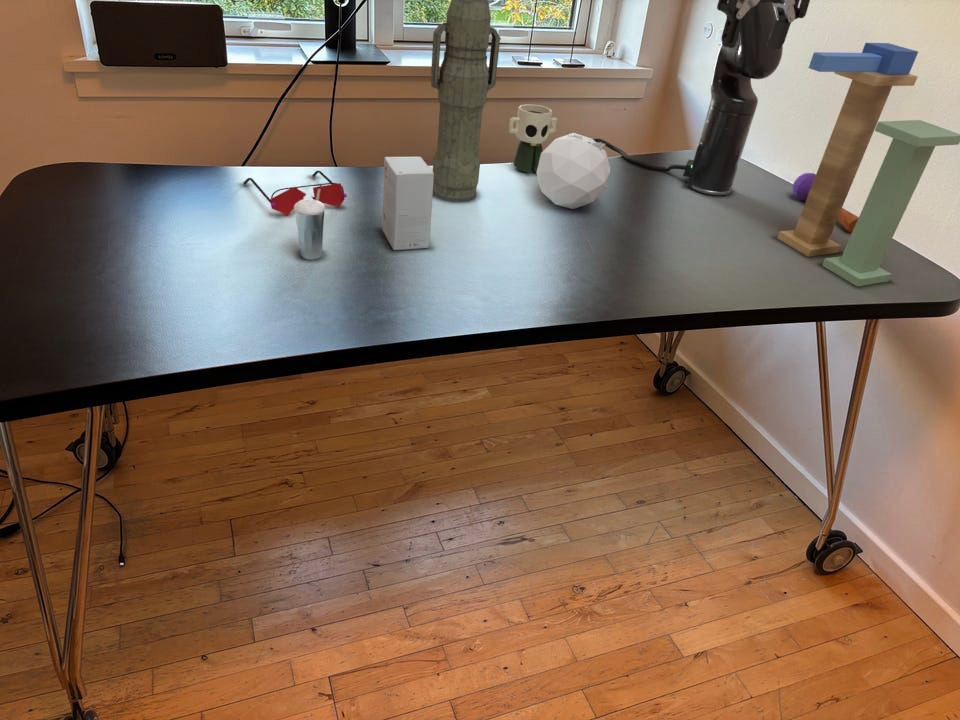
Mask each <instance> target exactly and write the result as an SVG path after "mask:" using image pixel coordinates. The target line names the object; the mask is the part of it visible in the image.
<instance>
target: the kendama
mask: <svg viewBox="0 0 960 720" xmlns="http://www.w3.org/2000/svg"><path fill="white" fill-rule="evenodd" d="M815 176H816V173H814V172H805V173H802V174H801V175H799V176H797V178H796V179H795V180H794V182H793V185H792V192H793V195H794V197H795V198H797V199H798V200H800V201H802V202H806V200H807V197H808V194H809V192H810V189H811V187H812V184H813V181H814V179H815ZM858 218H859V216H857V215H855V214H854V213H853V212H850V211H849V210H847V209H845V208H844V207H842V209H841V211H840V214H839V216H838V219H837V221H838V222H839V223H840V224H841V225H842V227H844V228H845V230H846V231H847V232H848V233H850V234H852V232H853V230H854V227H855V225H856V223H857V221H858Z"/></svg>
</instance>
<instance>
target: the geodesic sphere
mask: <svg viewBox="0 0 960 720" xmlns="http://www.w3.org/2000/svg"><path fill="white" fill-rule="evenodd" d="M601 143H602V142H601ZM601 143H599V142H595V141H594V140H593V138H591V137H587V136H585V135H582V134H578V133H575V132H572V133H569V134H568V133H567V134H566V135H562V136H559V137H557V138H555V139H554V140H553V141H552V142H551V143H550V144H549V145H547V146H546V147H545V149H543V150H542V153H541V156H540V160H539V164H538V168H537V172H535V173H536V177H537V181H538V185H539V188H540V189H539V190H540V192H541V193H542V194H543V195H545V196H546V198H548V199H549V200H550V201H551V202H552V203H553V204H554V205H556V206H559V207H563V208H566V209H570V210H575V209H577V208H580V207H584V206H586V205H589V204H592V203H593V202H594V201H595V200H596V199H597V198H598V197H599V196H600V195H601V194H602V193H603V192H605V190H606V187H607V184H608V181H609V178H610V174H611V171H612V170H611V166H610V162H609V158H608V155H607V151H606V150H605V148H606V146H605V144H604V143H602V144H601Z"/></svg>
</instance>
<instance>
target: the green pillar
mask: <svg viewBox="0 0 960 720" xmlns="http://www.w3.org/2000/svg"><path fill="white" fill-rule="evenodd" d="M874 132H877V133H879V134H882V135H884V136H887V137H890V138H892V140H891V142H890V143H889V147H888V148H887V149H888V150H887V151H886V153H885V156H884V158H883V160H882V163H881V165H880V167H879V170H878V172H877V175H876V177H875V179H874V181H873V184H872V185H871V188H870V191H869V193H868V195H867V198H866V200H865V202H864V205H863V207H862V209H861V212H860V213H859V216H858V217H859V218H858V221H857V223H856V225H855V227H854V230H853V232H852V233H850V237H849V239H848V242H847V244H846V246H845V249H844V251H843V253H842V255H841V256H839V255H838V256H833V257H826V258H824V261H823V263H822V267H824V268H825V269H827V270H829V271H830V272H831V273H833V274H835V275H837V276H838V277H840V278H842V279H843V280H845V281H847V282H848V283H850V284H852V285H854V286H855V287H857V288H858V287H863V286H869V285H875V284H876V285H877V284H881V283H888V282H889V281H890V279H891V278H892V276H893V273H891V272H889V271H887V270H886V269H884V268H882V267H880V265H881V263H882V261H883V259H884V257H885V254H886V253H887V250H888V248H889V246H890V244H891V242H892V240H893V237H894V235H895V233H896V231H897V229H898V227H899V225H900V222H901V220H902V219H903V216H904V214H905V212H906V210H907V208H908V206H909V204H910V201H911V199H912V197H913V195H914V193H915V190H916V188H917V187H918V184H919V182H920V180H921V178H922V176H923V174H924V171H925V169H926V167H927V165H928V163H929V161H930V160H931V157H932V154H933V152H934V150H935V148H936V147H941V146H943V147H944V146H958V145H960V133H957V132H955V131H952V130H949V129H946V128H943V127H941V126H938V125H935V124H933V123H930V122H927V121H924V120H921V119H910V120H909V119H908V120H886V121H884V120H883V121H878V122H877V125H876V127H875V129H874Z"/></svg>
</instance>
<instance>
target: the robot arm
mask: <svg viewBox="0 0 960 720" xmlns="http://www.w3.org/2000/svg"><path fill="white" fill-rule="evenodd" d="M810 1H811V0H718V2H717V5H716V10H717V11H720V12H722V13H724V14H725V16H726V18H725V19H726V20H725V22H724V26H723V30H722V34H721V43H720V46H719V49H718V52H717V56H716V60H715V64H714V69H713V74H712V79H711V83H710V95H711V97H710V101H709V105H708V110H707V113H706V116H705V120H704V124H703V128H702V130H701V135H700V138H699V141H698V144H697V147H696V150H695V154H694V157H693V159H690V158H689V159H687V162H686V164H669V165H668V166H661V165H654V164H651V163H647V162H644V161H642V160H639V159H637V158H634V157H632V156H630V155H629V154H627V153H626V152H625V151H624V150H623V149H621V148H619V147H617V146H615V145H613V144H611V143H610V142H608V141H606V140H604V139H602V138H597V137H594V138H593V137H592V139H593V140H594V141H595V142H596V143H597V142H599V143H601V142H602V143H604V144H605V145H604V147H606V148H608V149H610V150H612V151H614V152H616V153H618V154H619V155H620V156H621V157H622V158H624V159H625V160H627V161H629V162H631V163H634V164H635V165H637V166H639V167H640V166H641V167H644V168H646V169H649V170H654V171H659V172H670V171H671V170H683V175H682V177H685V178H688V179H687V183H686V188H689V189H692V190H694V191H696V192H699V193H702V194H706V195H711V196H727V195H729V194H730V193H731V191H732V187H733V185H734V182H735V177H736V174H737V171H738V168H739V164H740V162H741V158H742V155H743V153H744V149H745V145H746V142H747V140H748V135H749V132H750V130H751V126H752V123H753V120H754V117H755V113H756V110H757V107H758V104H759V99H758V96H757V94H756V93H755V91H754V89H753V86H752V79H753V80H764V79H767V78H768V77H771V75H773V74H774V72H775V71H776V70H777V68H778V67H779V65H780V62H781V61H782V57H783V50H784V44H785V42H786V38H787V36H788V33H789V30H790V27H791V25H792V23H793V22H794V21H795V20H797V19H803V18H805V17H806V15H807V12H808V9H809V5H810ZM599 143H598V144H599ZM602 143H601V144H602ZM601 144H600V145H601Z"/></svg>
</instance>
